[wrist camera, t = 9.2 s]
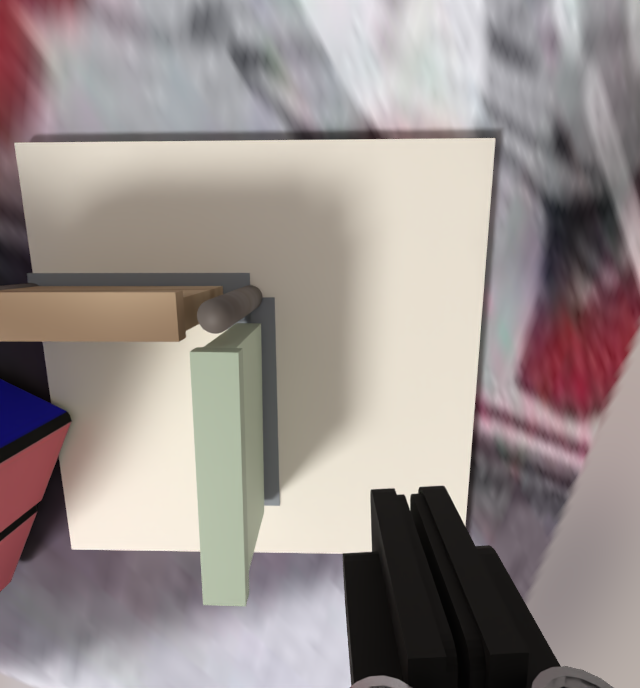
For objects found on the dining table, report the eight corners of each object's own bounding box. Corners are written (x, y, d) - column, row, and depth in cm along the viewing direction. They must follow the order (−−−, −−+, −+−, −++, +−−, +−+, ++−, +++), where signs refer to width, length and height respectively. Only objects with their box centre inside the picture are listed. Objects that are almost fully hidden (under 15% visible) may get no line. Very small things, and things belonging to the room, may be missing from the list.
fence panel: (231, 323, 17) (189, 351, 12) (265, 323, 17) (238, 352, 12) (237, 510, 19) (203, 604, 14) (268, 511, 19) (245, 606, 14)
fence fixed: (17, 280, 17) (-130, 292, 12) (262, 280, 17) (229, 292, 12) (22, 313, 18) (-120, 341, 12) (263, 314, 18) (231, 341, 12)
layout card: (20, 146, 17) (7, 142, 16) (489, 142, 16) (496, 137, 16) (75, 540, 21) (66, 550, 20) (459, 546, 20) (463, 556, 20)
